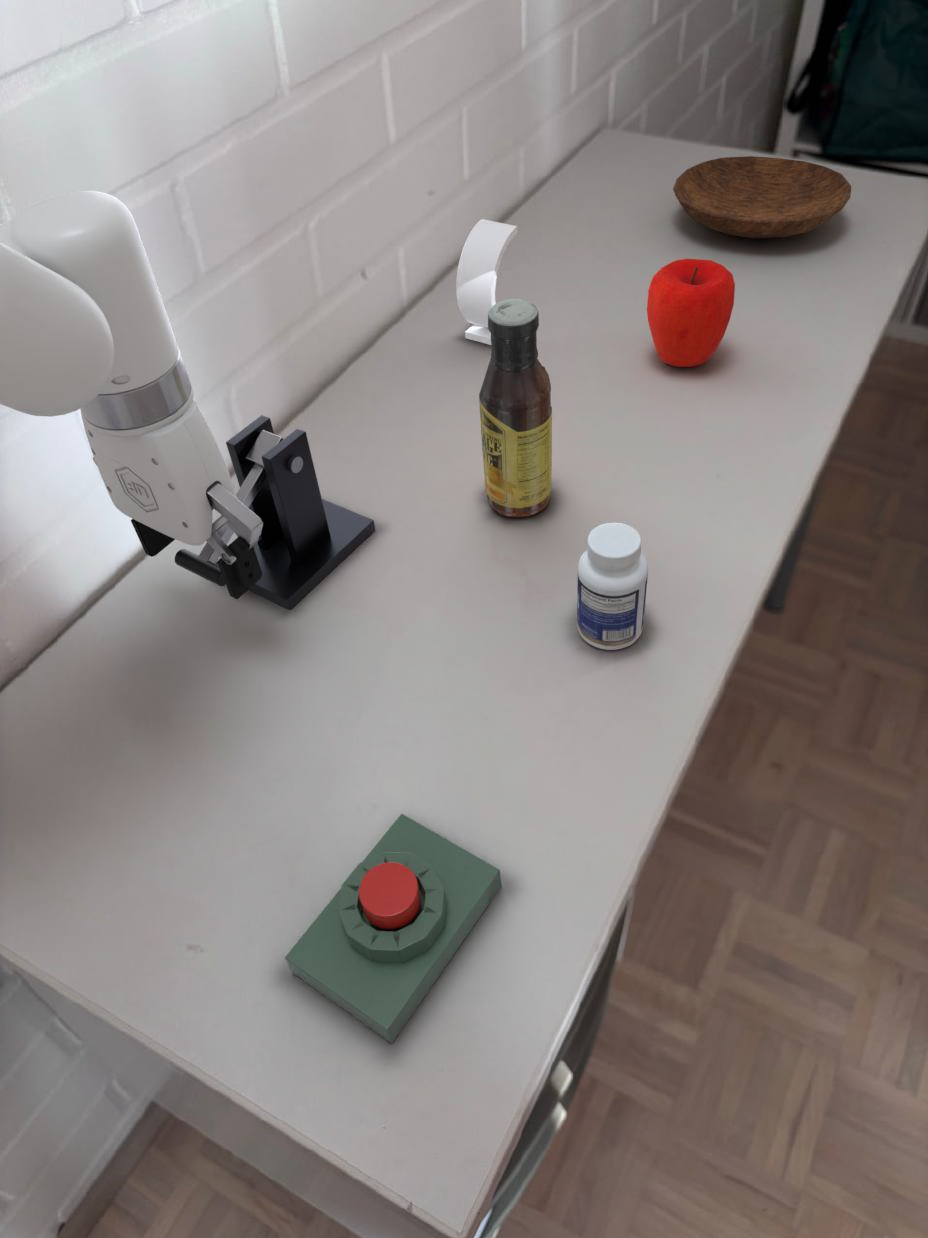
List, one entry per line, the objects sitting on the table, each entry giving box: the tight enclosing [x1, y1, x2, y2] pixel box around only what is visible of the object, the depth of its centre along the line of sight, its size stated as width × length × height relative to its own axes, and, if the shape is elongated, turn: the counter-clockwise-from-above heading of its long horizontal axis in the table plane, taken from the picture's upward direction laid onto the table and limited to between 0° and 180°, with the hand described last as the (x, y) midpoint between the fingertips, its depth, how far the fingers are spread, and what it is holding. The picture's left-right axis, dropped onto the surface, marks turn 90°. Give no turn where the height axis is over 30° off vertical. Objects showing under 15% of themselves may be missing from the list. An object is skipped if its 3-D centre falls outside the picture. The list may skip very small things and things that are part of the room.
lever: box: [174, 430, 284, 587], centre depth 78 cm, size 13×5×2 cm, turn 146°
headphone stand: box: [455, 218, 518, 346], centre depth 106 cm, size 5×6×12 cm
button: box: [359, 862, 421, 929], centre depth 58 cm, size 4×4×2 cm
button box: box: [284, 813, 502, 1044], centre depth 60 cm, size 12×8×4 cm, turn 146°
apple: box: [646, 258, 736, 368], centre depth 100 cm, size 9×9×11 cm
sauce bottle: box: [478, 298, 553, 518], centre depth 82 cm, size 7×6×20 cm
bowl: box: [672, 155, 852, 239], centre depth 123 cm, size 20×22×5 cm
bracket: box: [215, 414, 376, 611], centre depth 82 cm, size 12×9×13 cm
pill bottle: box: [576, 522, 649, 651], centre depth 74 cm, size 5×5×10 cm
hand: (204, 565), depth 77 cm, fingers open, 9 cm apart
